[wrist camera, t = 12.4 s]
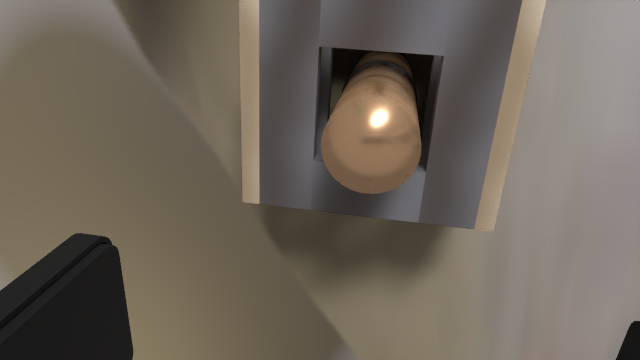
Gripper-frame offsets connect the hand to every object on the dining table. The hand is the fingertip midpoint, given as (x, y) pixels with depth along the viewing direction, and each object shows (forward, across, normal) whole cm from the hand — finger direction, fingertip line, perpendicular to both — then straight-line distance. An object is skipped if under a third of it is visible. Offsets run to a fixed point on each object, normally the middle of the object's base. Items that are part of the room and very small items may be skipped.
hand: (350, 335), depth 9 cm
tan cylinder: (+25, +1, 0) cm, 25 cm away
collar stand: (+25, +1, 0) cm, 25 cm away
